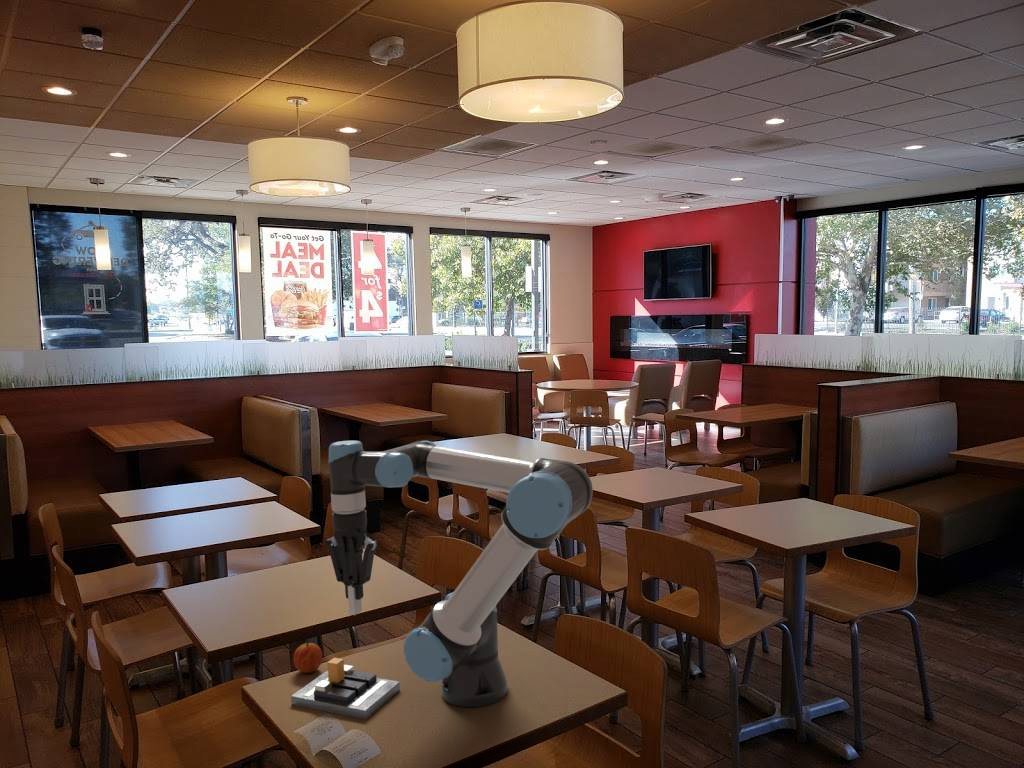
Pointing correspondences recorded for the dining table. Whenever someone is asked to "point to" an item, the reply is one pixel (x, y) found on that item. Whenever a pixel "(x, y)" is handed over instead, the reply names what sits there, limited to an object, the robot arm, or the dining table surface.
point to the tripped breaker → (336, 670)
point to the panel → (347, 707)
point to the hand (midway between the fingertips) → (355, 612)
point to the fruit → (307, 657)
